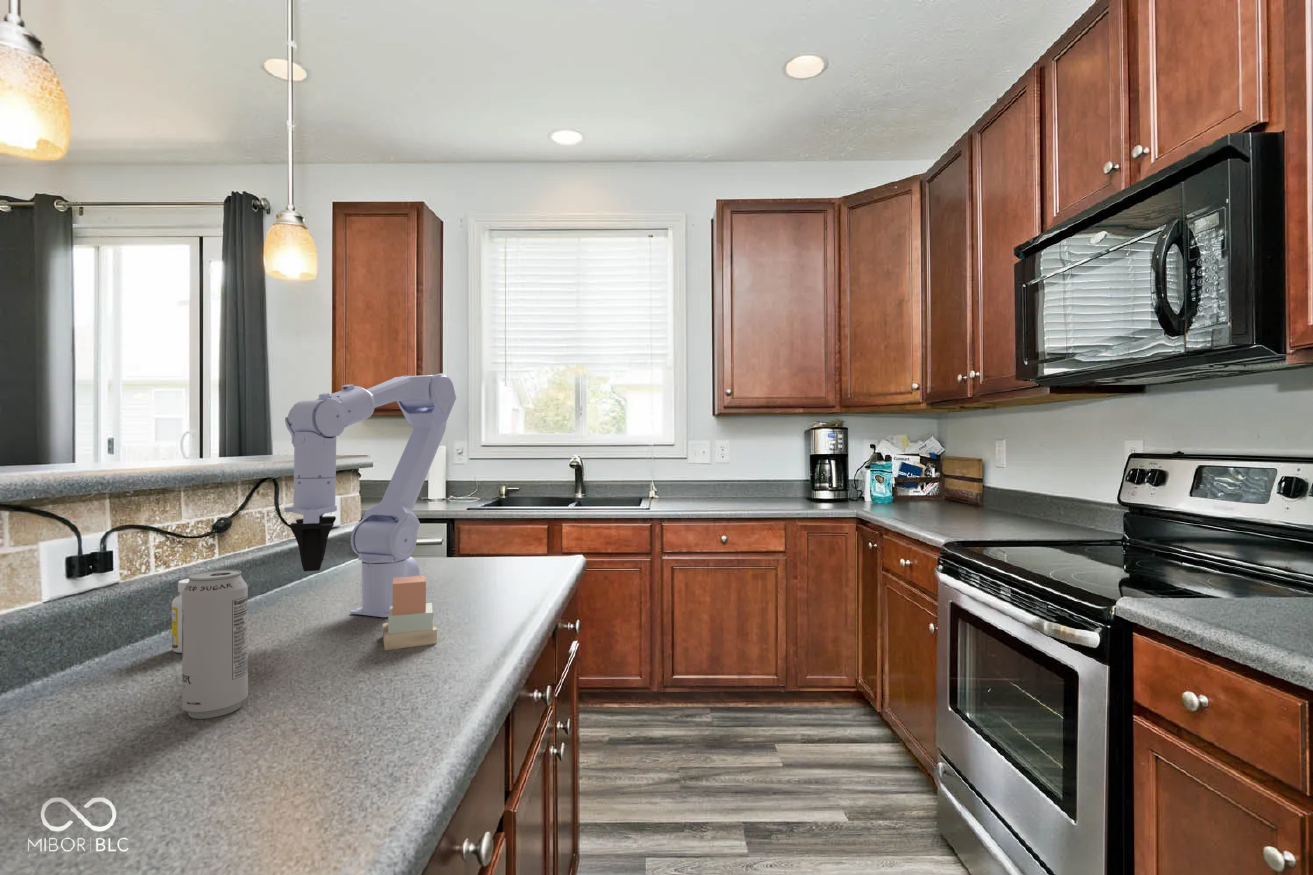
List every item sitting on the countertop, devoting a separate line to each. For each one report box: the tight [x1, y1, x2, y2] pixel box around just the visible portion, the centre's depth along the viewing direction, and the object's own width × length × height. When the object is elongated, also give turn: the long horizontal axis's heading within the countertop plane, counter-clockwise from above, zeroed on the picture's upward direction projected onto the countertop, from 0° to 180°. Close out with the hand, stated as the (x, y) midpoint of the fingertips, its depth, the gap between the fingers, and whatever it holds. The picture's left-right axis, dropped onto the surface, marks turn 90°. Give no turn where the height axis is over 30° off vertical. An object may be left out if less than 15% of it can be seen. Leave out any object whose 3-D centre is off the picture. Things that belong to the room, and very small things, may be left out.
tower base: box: [382, 621, 438, 651], centre depth 96 cm, size 7×7×2 cm
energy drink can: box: [181, 569, 249, 720], centre depth 72 cm, size 6×6×15 cm
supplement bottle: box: [171, 578, 189, 654], centre depth 93 cm, size 5×5×10 cm
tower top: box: [387, 602, 434, 634], centre depth 96 cm, size 6×6×2 cm
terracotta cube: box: [393, 575, 427, 615], centre depth 96 cm, size 4×4×4 cm
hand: (313, 566), depth 99 cm, fingers open, 7 cm apart
